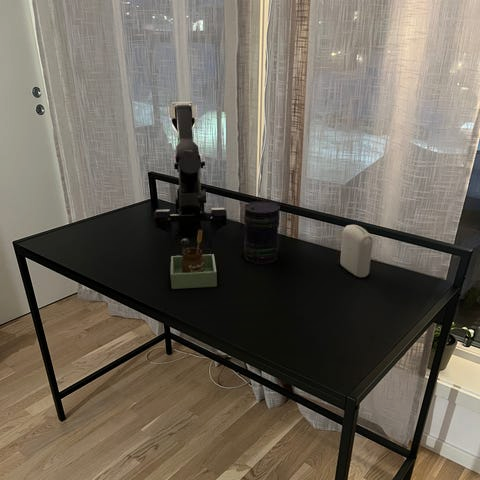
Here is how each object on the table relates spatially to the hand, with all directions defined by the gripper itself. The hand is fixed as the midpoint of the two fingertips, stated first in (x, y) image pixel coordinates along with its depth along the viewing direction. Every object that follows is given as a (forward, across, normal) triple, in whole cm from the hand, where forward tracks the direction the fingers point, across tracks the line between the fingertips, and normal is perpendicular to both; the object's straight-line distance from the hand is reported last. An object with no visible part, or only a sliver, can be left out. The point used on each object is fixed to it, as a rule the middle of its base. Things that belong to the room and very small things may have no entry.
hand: (192, 248), depth 133 cm
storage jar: (-2, +20, +15) cm, 25 cm away
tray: (+6, 0, +6) cm, 8 cm away
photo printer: (+6, +44, +7) cm, 45 cm away
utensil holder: (+6, 0, +6) cm, 8 cm away
